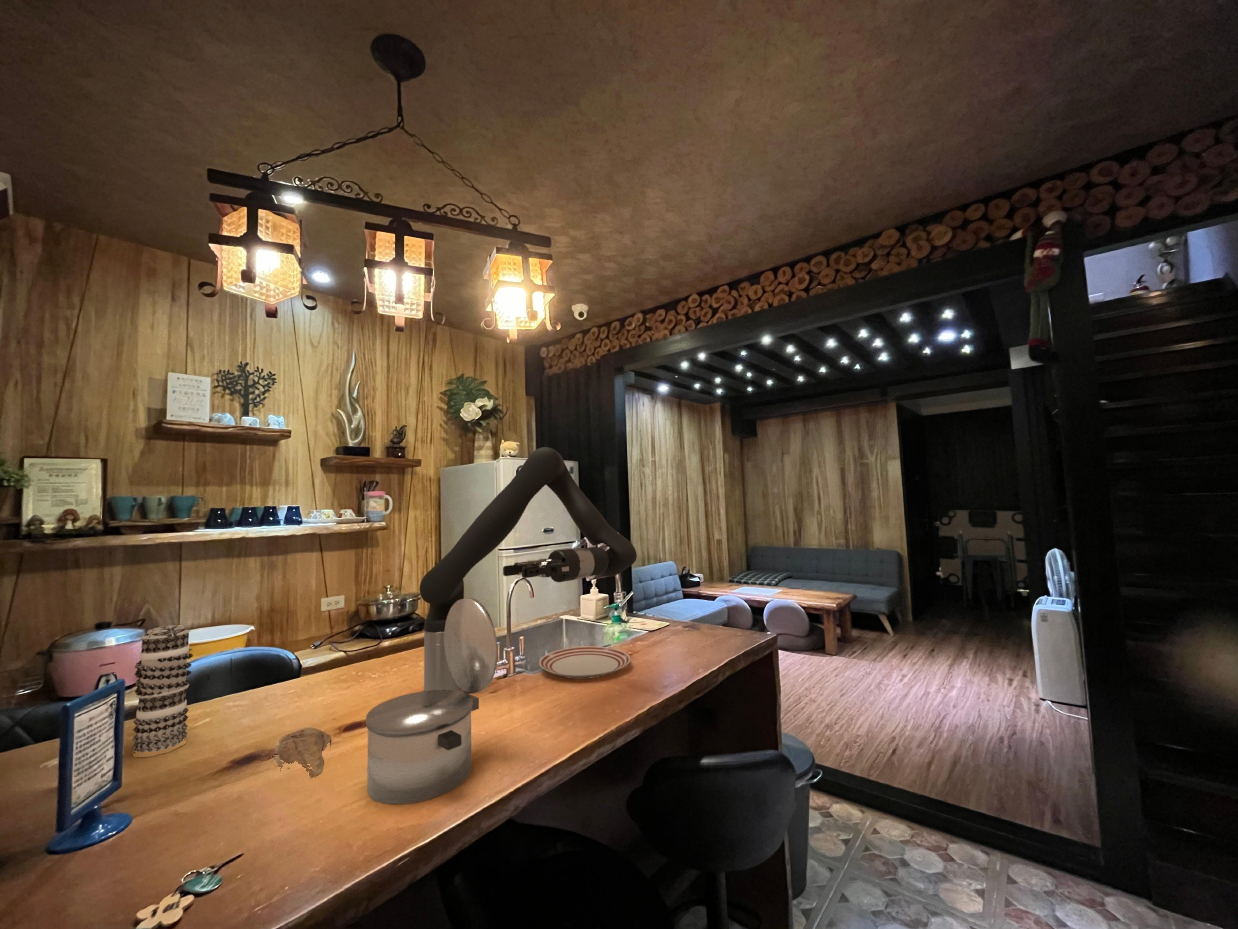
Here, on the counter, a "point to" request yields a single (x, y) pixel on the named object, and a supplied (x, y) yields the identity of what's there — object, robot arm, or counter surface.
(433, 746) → the cooker pot
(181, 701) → the decorative candle
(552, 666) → the dinner plate
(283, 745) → the fish fossil
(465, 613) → the cooker lid
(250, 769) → the counter surface
